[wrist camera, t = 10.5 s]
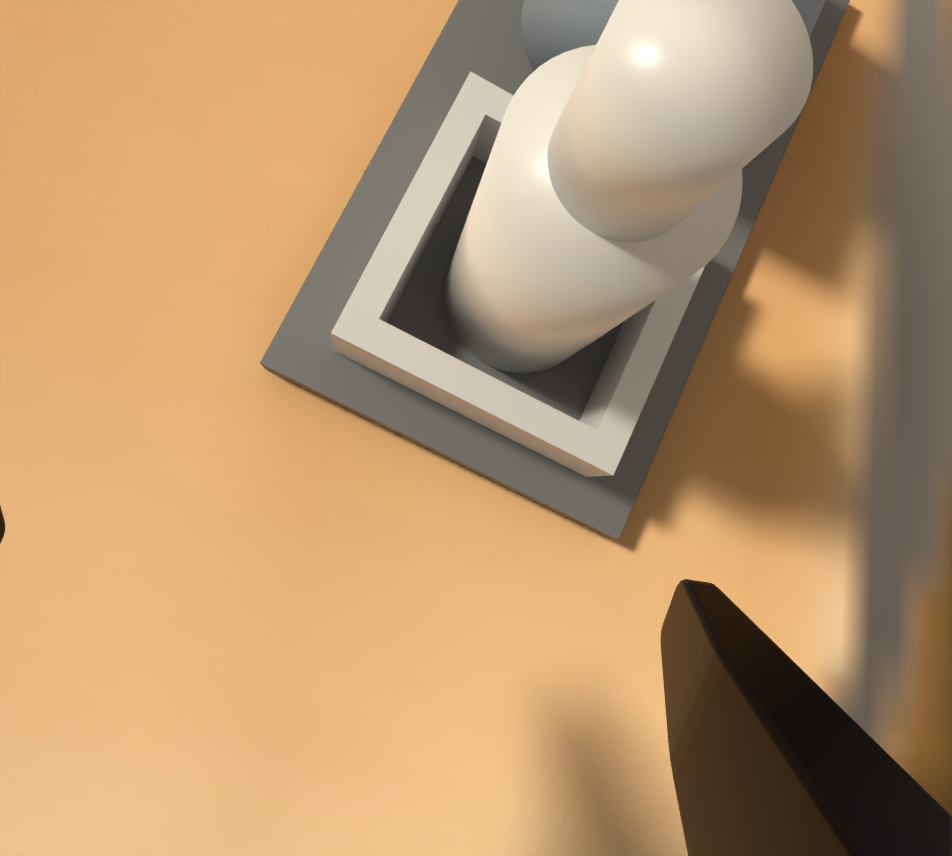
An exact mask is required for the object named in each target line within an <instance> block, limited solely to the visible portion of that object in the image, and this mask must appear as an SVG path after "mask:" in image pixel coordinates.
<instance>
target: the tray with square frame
mask: <svg viewBox="0 0 952 856" xmlns="http://www.w3.org/2000/svg"><path fill="white" fill-rule="evenodd" d="M618 1H619V0H459V1H458V3H457V4H456V6H455V8H454V10H453V12H452V14H451V15H450V17H449V19H448V21H447V23H446V25H445V26H444V28H443V30H442V32H441V34H440V35H439V37H438V39H437V41H436V43H435V45H434V46H433V48H432V50H431V52H430V54H429V56H428V57H427V59H426V61H425V63H424V65H423V66H422V68H421V70H420V72H419V74H418V76H417V77H416V79H415V81H414V83H413V85H412V87H411V88H410V90H409V92H408V94H407V96H406V98H405V99H404V101H403V103H402V105H401V107H400V108H399V110H398V112H397V114H396V116H395V118H394V119H393V121H392V123H391V125H390V127H389V129H388V130H387V132H386V134H385V136H384V138H383V139H382V141H381V143H380V145H379V147H378V149H377V150H376V152H375V154H374V156H373V158H372V160H371V161H370V163H369V165H368V167H367V169H366V171H365V172H364V174H363V176H362V178H361V180H360V181H359V183H358V185H357V187H356V189H355V191H354V192H353V194H352V196H351V198H350V200H349V202H348V203H347V205H346V207H345V209H344V211H343V212H342V214H341V216H340V218H339V220H338V222H337V223H336V225H335V227H334V229H333V231H332V233H331V234H330V236H329V238H328V240H327V242H326V243H325V245H324V247H323V249H322V251H321V253H320V254H319V256H318V258H317V260H316V262H315V264H314V265H313V267H312V269H311V271H310V273H309V275H308V276H307V278H306V280H305V282H304V284H303V285H302V287H301V289H300V291H299V293H298V295H297V296H296V298H295V300H294V302H293V304H292V306H291V307H290V309H289V311H288V313H287V315H286V316H285V318H284V320H283V322H282V324H281V326H280V327H279V329H278V331H277V333H276V335H275V337H274V338H273V340H272V342H271V344H270V346H269V348H268V349H267V351H266V353H265V355H264V357H263V358H262V360H261V362H260V363H261V365H262V366H263V367H264V368H265V369H267V370H269V371H271V372H273V373H275V374H277V375H279V376H281V377H283V378H285V379H287V380H289V381H291V382H293V383H295V384H297V385H299V386H301V387H303V388H305V389H307V390H309V391H311V392H313V393H315V394H317V395H319V396H321V397H323V398H325V399H327V400H330V401H332V402H334V403H336V404H338V405H340V406H342V407H344V408H346V409H348V410H350V411H352V412H354V413H356V414H358V415H360V416H362V417H364V418H366V419H368V420H370V421H372V422H374V423H376V424H378V425H380V426H382V427H384V428H386V429H388V430H390V431H393V432H395V433H397V434H399V435H401V436H403V437H405V438H407V439H409V440H411V441H413V442H415V443H417V444H419V445H421V446H423V447H425V448H427V449H429V450H431V451H433V452H435V453H437V454H439V455H441V456H443V457H445V458H447V459H449V460H451V461H453V462H456V463H458V464H460V465H462V466H464V467H466V468H468V469H470V470H472V471H474V472H476V473H478V474H480V475H482V476H484V477H486V478H488V479H490V480H492V481H494V482H496V483H498V484H500V485H502V486H504V487H506V488H508V489H510V490H512V491H514V492H516V493H519V494H521V495H523V496H525V497H527V498H529V499H531V500H533V501H535V502H537V503H539V504H541V505H543V506H545V507H547V508H549V509H551V510H553V511H555V512H557V513H559V514H561V515H563V516H565V517H567V518H569V519H571V520H573V521H575V522H577V523H579V524H582V525H584V526H586V527H588V528H590V529H592V530H594V531H596V532H598V533H600V534H602V535H604V536H606V537H608V538H613V539H618V540H619V537H620V535H621V533H622V530H623V528H624V526H625V523H626V521H627V519H628V516H629V514H630V512H631V509H632V507H633V505H634V502H635V500H636V498H637V495H638V493H639V491H640V488H641V486H642V484H643V481H644V479H645V477H646V474H647V472H648V470H649V467H650V465H651V463H652V460H653V458H654V456H655V453H656V451H657V449H658V446H659V444H660V442H661V439H662V437H663V435H664V432H665V430H666V428H667V425H668V423H669V421H670V418H671V416H672V414H673V411H674V409H675V407H676V404H677V402H678V400H679V397H680V395H681V393H682V390H683V388H684V386H685V383H686V381H687V379H688V376H689V374H690V372H691V369H692V367H693V365H694V362H695V360H696V358H697V355H698V353H699V351H700V348H701V346H702V344H703V341H704V339H705V337H706V334H707V332H708V330H709V327H710V325H711V323H712V320H713V318H714V316H715V313H716V311H717V309H718V306H719V304H720V302H721V299H722V297H723V295H724V292H725V290H726V288H727V285H728V283H729V281H730V278H731V276H732V274H733V271H734V269H735V267H736V264H737V262H738V260H739V257H740V255H741V253H742V250H743V248H744V246H745V243H746V241H747V239H748V236H749V234H750V232H751V229H752V227H753V225H754V222H755V220H756V218H757V215H758V213H759V211H760V208H761V206H762V204H763V201H764V199H765V197H766V194H767V192H768V190H769V187H770V185H771V183H772V180H773V178H774V176H775V173H776V171H777V169H778V166H779V164H780V162H781V159H782V157H783V155H784V152H785V150H786V148H787V145H788V143H789V141H790V138H791V136H792V134H793V131H794V129H795V127H796V124H797V122H798V120H799V117H800V115H801V113H802V111H801V113H800V114H799V116H798V117H797V119H796V120H795V121H794V123H793V124H792V125H791V126H790V127H789V128H788V129H787V130H786V131H785V132H784V133H783V134H781V135H780V136H779V137H778V138H777V139H776V140H774V141H773V142H772V143H771V144H770V145H769V146H768V147H766V148H765V149H764V150H763V151H762V152H761V153H759V154H758V155H757V156H756V157H755V158H754V159H753V160H751V161H750V162H749V163H748V164H747V165H746V166H744V167H743V168H742V180H743V184H742V198H741V203H740V208H739V213H738V216H737V218H736V221H735V224H734V227H733V229H732V231H731V233H730V235H729V237H728V239H727V241H726V242H725V243H724V245H723V246H722V248H721V249H720V250H719V252H718V253H717V254H716V255H715V256H714V257H713V258H712V259H711V261H710V262H709V263H708V264H706V265H705V266H704V267H703V268H701V269H700V270H699V271H698V272H696V273H695V274H693V275H692V276H690V277H689V278H687V279H686V280H684V281H683V282H681V283H680V284H678V285H677V286H675V287H674V288H672V289H671V290H670V291H668V292H667V293H665V294H664V295H662V296H661V297H659V298H658V299H656V300H655V301H653V302H652V303H650V304H649V305H647V306H646V307H644V308H643V309H641V310H640V311H638V312H637V313H635V314H634V315H632V316H631V317H629V318H628V319H626V320H625V321H623V322H622V323H620V324H619V325H617V326H616V327H614V328H613V329H611V330H610V331H608V332H607V333H605V334H604V335H602V336H601V337H599V338H598V339H596V340H595V341H593V342H592V343H590V344H589V345H587V346H586V347H584V348H583V349H581V350H580V351H579V352H577V353H576V354H574V355H573V356H571V357H570V358H568V359H567V360H565V361H564V362H562V363H560V364H558V365H557V366H555V367H553V368H550V369H548V370H545V371H541V372H537V373H528V374H519V373H511V372H506V371H502V370H499V369H496V368H494V367H491V366H489V365H487V364H485V363H484V362H482V361H480V360H479V359H478V358H476V357H475V356H474V355H472V354H471V353H470V352H469V351H468V350H467V349H466V348H465V347H464V346H463V344H462V343H461V342H460V341H459V339H458V338H457V336H456V334H455V333H454V331H453V329H452V327H451V325H450V322H449V320H448V316H447V313H446V308H445V301H444V288H445V280H446V277H447V273H448V270H449V267H450V264H451V261H452V259H453V256H454V253H455V250H456V247H457V245H458V242H459V239H460V236H461V234H462V231H463V228H464V225H465V223H466V220H467V217H468V214H469V212H470V209H471V206H472V203H473V200H474V198H475V195H476V192H477V189H478V187H479V184H480V181H481V178H482V176H483V173H484V170H485V167H486V164H487V162H488V159H489V156H490V153H491V151H492V148H493V145H494V142H495V140H496V137H497V134H498V131H499V128H500V126H501V123H502V120H503V117H504V115H505V113H506V110H507V108H508V105H509V103H510V101H511V99H512V98H513V96H514V95H515V93H516V91H517V90H518V88H519V87H520V86H521V85H522V83H523V82H524V81H525V80H526V79H527V77H528V76H529V75H530V74H532V73H533V72H534V71H535V70H536V69H537V68H538V67H539V66H541V65H543V64H544V63H546V62H547V61H549V60H550V59H552V58H554V57H556V56H558V55H560V54H562V53H564V52H567V51H570V50H573V49H576V48H580V47H585V46H591V45H596V44H597V42H598V40H599V38H600V36H601V35H602V33H603V31H604V29H605V27H606V25H607V23H608V21H609V19H610V17H611V15H612V13H613V11H614V9H615V7H616V5H617V3H618ZM849 1H850V0H792V2H793V3H794V5H795V6H796V8H797V10H798V11H799V13H800V15H801V17H802V19H803V22H804V24H805V26H806V29H807V32H808V35H809V38H810V43H811V48H812V55H813V78H812V83H811V88H810V92H811V89H812V87H813V85H814V82H815V80H816V78H817V75H818V73H819V71H820V68H821V66H822V64H823V61H824V59H825V57H826V54H827V52H828V50H829V47H830V45H831V43H832V40H833V38H834V36H835V33H836V31H837V29H838V26H839V24H840V22H841V19H842V17H843V15H844V12H845V10H846V8H847V5H848V3H849ZM810 92H809V94H810ZM808 96H809V95H808ZM807 99H808V98H807ZM804 106H805V105H804ZM803 108H804V107H803ZM802 110H803V109H802Z"/></svg>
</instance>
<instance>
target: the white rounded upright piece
mask: <svg viewBox="0 0 952 856" xmlns="http://www.w3.org/2000/svg"><path fill="white" fill-rule="evenodd" d="M812 78H813V55H812V48H811V43H810V38H809V35H808V32H807V29H806V26H805V24H804V22H803V19H802V17H801V15H800V13H799V11H798V10H797V8H796V6H795V5H794V3H793V2H792V0H619V1H618V3H617V5H616V7H615V9H614V11H613V13H612V15H611V17H610V19H609V21H608V23H607V25H606V27H605V29H604V31H603V33H602V35H601V36H600V38H599V40H598V42H597V44H596V45H591V46H585V47H580V48H576V49H573V50H570V51H567V52H564V53H562V54H560V55H558V56H556V57H554V58H552V59H550V60H549V61H547V62H546V63H544V64H543V65H541V66H539V67H538V68H537V69H536V70H535V71H534V72H533V73H532V74H530V75H529V76H528V77H527V79H526V80H525V81H524V82H523V83H522V85H521V86H520V87H519V88H518V90H517V91H516V93H515V95H514V96H513V98H512V99H511V101H510V103H509V105H508V108H507V110H506V113H505V115H504V117H503V120H502V123H501V126H500V128H499V131H498V134H497V137H496V140H495V142H494V145H493V148H492V151H491V153H490V156H489V159H488V162H487V164H486V167H485V170H484V173H483V176H482V178H481V181H480V184H479V187H478V189H477V192H476V195H475V198H474V200H473V203H472V206H471V209H470V212H469V214H468V217H467V220H466V223H465V225H464V228H463V231H462V234H461V236H460V239H459V242H458V245H457V247H456V250H455V253H454V256H453V259H452V261H451V264H450V267H449V270H448V273H447V277H446V280H445V288H444V301H445V308H446V313H447V316H448V320H449V322H450V325H451V327H452V329H453V331H454V333H455V334H456V336H457V338H458V339H459V341H460V342H461V343H462V344H463V346H464V347H465V348H466V349H467V350H468V351H469V352H470V353H471V354H472V355H474V356H475V357H476V358H478V359H479V360H480V361H482V362H484V363H485V364H487V365H489V366H491V367H494V368H496V369H499V370H502V371H506V372H511V373H519V374H528V373H537V372H541V371H545V370H548V369H550V368H553V367H555V366H557V365H558V364H560V363H562V362H564V361H565V360H567V359H568V358H570V357H571V356H573V355H574V354H576V353H577V352H579V351H580V350H581V349H583V348H584V347H586V346H587V345H589V344H590V343H592V342H593V341H595V340H596V339H598V338H599V337H601V336H602V335H604V334H605V333H607V332H608V331H610V330H611V329H613V328H614V327H616V326H617V325H619V324H620V323H622V322H623V321H625V320H626V319H628V318H629V317H631V316H632V315H634V314H635V313H637V312H638V311H640V310H641V309H643V308H644V307H646V306H647V305H649V304H650V303H652V302H653V301H655V300H656V299H658V298H659V297H661V296H662V295H664V294H665V293H667V292H668V291H670V290H671V289H672V288H674V287H675V286H677V285H678V284H680V283H681V282H683V281H684V280H686V279H687V278H689V277H690V276H692V275H693V274H695V273H696V272H698V271H699V270H700V269H701V268H703V267H704V266H705V265H706V264H708V263H709V262H710V261H711V259H712V258H713V257H714V256H715V255H716V254H717V253H718V252H719V250H720V249H721V248H722V246H723V245H724V243H725V242H726V241H727V239H728V237H729V235H730V233H731V231H732V229H733V227H734V224H735V221H736V218H737V216H738V213H739V208H740V203H741V198H742V184H743V180H742V168H743V167H744V166H746V165H747V164H748V163H749V162H750V161H751V160H753V159H754V158H755V157H756V156H757V155H758V154H759V153H761V152H762V151H763V150H764V149H765V148H766V147H768V146H769V145H770V144H771V143H772V142H773V141H774V140H776V139H777V138H778V137H779V136H780V135H781V134H783V133H784V132H785V131H786V130H787V129H788V128H789V127H790V126H791V125H792V124H793V123H794V121H795V120H796V119H797V117H798V116H799V114H800V113H801V111H802V109H803V107H804V105H805V103H806V101H807V98H808V95H809V92H810V88H811V83H812Z"/></svg>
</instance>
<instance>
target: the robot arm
mask: <svg viewBox="0 0 952 856" xmlns="http://www.w3.org/2000/svg"><path fill="white" fill-rule="evenodd" d="M4 533H5V521H4V517H3V513H2V510H1V506H0V543H1V541H2V539H3V537H4ZM661 654H662V667H663V680H664V693H665V706H666V719H667V731H668V743H669V753H670V761H671V767H672V773H673V779H674V784H675V789H676V794H677V800H678V805H679V810H680V815H681V820H682V826H683V831H684V836H685V841H686V847H687V852H688V856H952V817H951V815H949V814H948V813H947V812H946V811H945V810H944V809H943V808H942V807H941V806H940V805H939V804H938V803H937V802H936V801H935V800H934V799H933V798H932V797H931V796H930V795H929V794H928V793H927V792H926V791H925V790H924V789H923V788H922V787H921V786H920V785H919V784H918V783H917V782H916V781H915V780H914V779H913V778H912V777H911V776H910V775H909V774H908V773H907V772H906V771H905V770H904V769H903V768H902V767H901V766H900V765H898V764H897V763H896V762H895V761H894V760H893V759H892V758H891V757H890V756H889V755H888V754H887V753H886V752H885V751H884V750H883V749H882V748H881V747H880V746H879V745H878V744H877V743H876V742H875V741H874V740H873V739H872V738H871V737H870V736H869V735H868V734H867V733H866V732H865V731H864V730H863V729H862V728H861V727H860V726H859V725H858V724H857V723H856V722H855V721H854V720H853V719H852V718H851V717H850V716H848V715H847V714H846V713H845V712H844V711H843V710H842V709H841V708H840V707H839V706H838V705H837V704H836V703H835V702H834V701H833V700H832V699H831V698H830V697H829V696H828V695H827V694H826V693H825V692H824V691H823V690H822V689H821V688H820V687H819V686H818V685H817V684H816V683H815V682H814V681H813V680H812V679H811V678H810V677H809V676H808V675H807V674H806V673H805V672H804V671H803V670H802V669H801V668H800V667H799V666H797V665H796V664H795V663H794V662H793V661H792V660H791V659H790V658H789V657H788V656H787V655H786V654H785V653H784V652H783V651H782V650H781V649H780V648H779V647H778V646H777V645H776V644H775V643H774V642H773V641H772V640H771V639H770V638H769V637H768V636H767V635H766V634H765V633H764V632H763V631H762V630H761V629H760V628H759V627H758V626H757V625H756V624H755V623H754V622H753V621H752V620H751V619H750V618H749V617H748V616H746V615H745V614H744V613H743V612H742V611H741V610H740V609H739V608H738V607H737V606H736V605H735V604H734V603H733V602H732V601H731V600H730V599H729V598H728V597H727V596H726V595H725V594H724V593H723V592H722V591H721V590H720V589H719V588H718V587H717V586H715V585H714V584H712V583H708V582H701V581H694V580H688V579H685V580H682V581H680V582H679V584H678V585H677V587H676V589H675V592H674V595H673V598H672V600H671V603H670V606H669V609H668V612H667V614H666V617H665V620H664V623H663V626H662V631H661Z"/></svg>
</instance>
